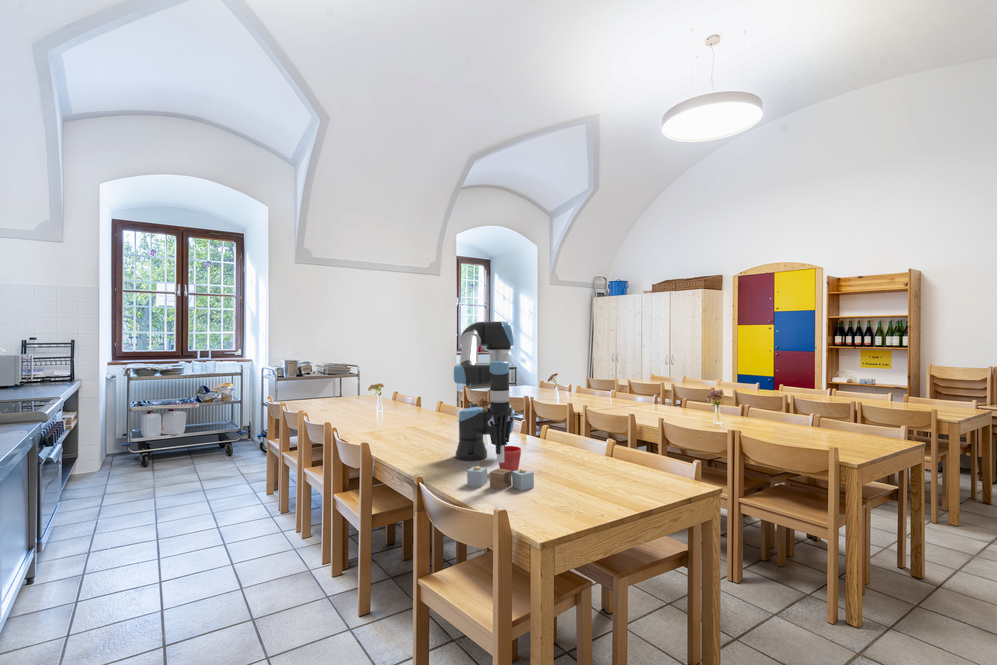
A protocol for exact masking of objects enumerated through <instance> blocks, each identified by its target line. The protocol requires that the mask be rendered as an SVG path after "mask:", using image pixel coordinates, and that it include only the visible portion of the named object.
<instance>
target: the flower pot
mask: <svg viewBox="0 0 997 665" xmlns="http://www.w3.org/2000/svg"><path fill="white" fill-rule="evenodd" d="M521 456H522V448H521V447H519V446H515V445H514V446H513V445H505V453H504V462H503V463H500V462H498V466H499V469H505V470H511V474H512V471H516V470H519V467H520V462H521Z"/></svg>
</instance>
